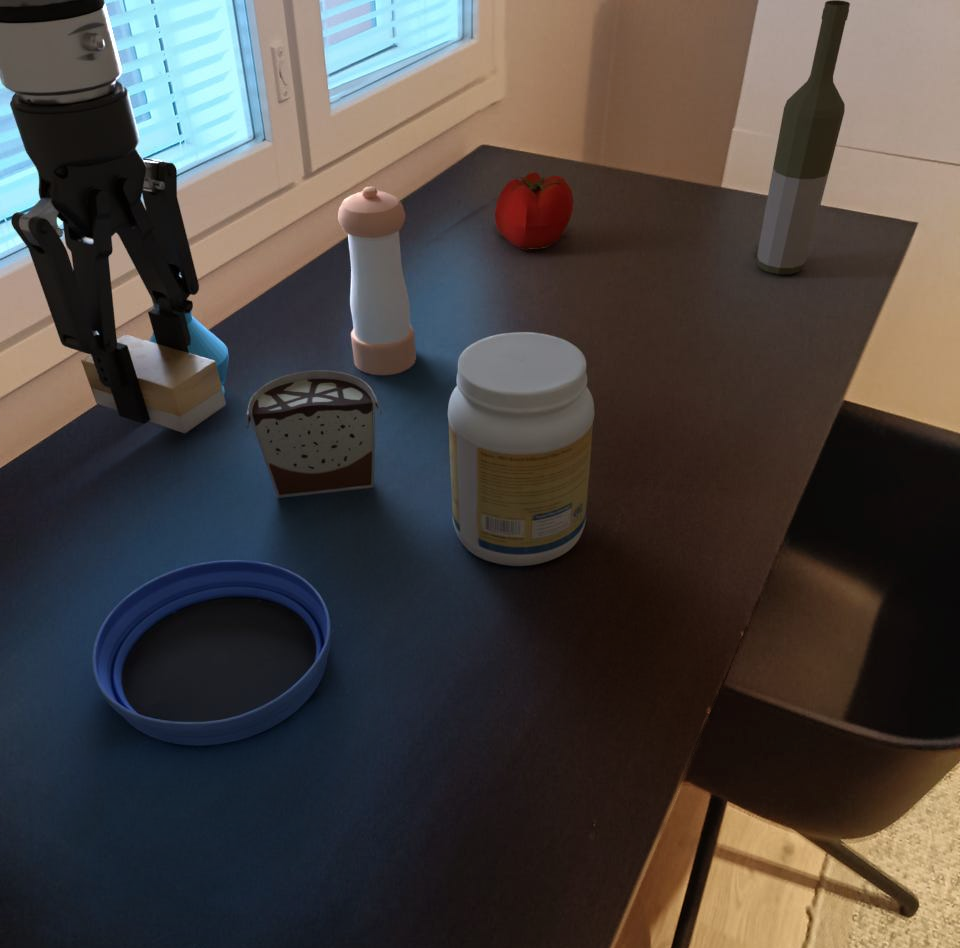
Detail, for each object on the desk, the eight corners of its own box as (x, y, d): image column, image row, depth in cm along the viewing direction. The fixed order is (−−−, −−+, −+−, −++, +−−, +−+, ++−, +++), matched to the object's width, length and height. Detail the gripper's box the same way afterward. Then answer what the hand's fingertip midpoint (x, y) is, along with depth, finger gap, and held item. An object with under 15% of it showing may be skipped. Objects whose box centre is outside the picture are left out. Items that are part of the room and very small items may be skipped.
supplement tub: (611, 528, 86) (631, 360, 74) (521, 591, 79) (526, 419, 68) (515, 475, 92) (518, 311, 80) (425, 530, 86) (414, 362, 74)
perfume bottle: (160, 424, 99) (120, 287, 88) (145, 384, 105) (106, 252, 94) (245, 405, 101) (216, 270, 91) (225, 367, 107) (196, 236, 97)
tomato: (575, 231, 134) (579, 167, 128) (562, 262, 127) (566, 196, 121) (504, 225, 136) (504, 162, 130) (487, 255, 129) (487, 190, 123)
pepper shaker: (347, 350, 110) (327, 180, 96) (407, 340, 111) (394, 171, 98) (361, 380, 105) (341, 205, 91) (423, 369, 107) (412, 195, 93)
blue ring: (95, 774, 66) (80, 743, 64) (113, 607, 79) (100, 575, 76) (346, 732, 69) (341, 701, 66) (325, 576, 81) (319, 545, 79)
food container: (383, 451, 95) (374, 361, 88) (389, 485, 91) (380, 394, 84) (261, 463, 94) (242, 373, 86) (261, 499, 89) (241, 408, 82)
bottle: (766, 281, 122) (824, 11, 101) (743, 260, 127) (794, -2, 105) (815, 275, 123) (882, 7, 102) (791, 254, 128) (850, -6, 107)
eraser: (96, 403, 78) (80, 360, 75) (138, 377, 81) (125, 334, 78) (185, 433, 74) (172, 388, 71) (226, 404, 77) (215, 360, 74)
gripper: (-7, 134, 54) (112, 468, 70) (203, 61, 65) (263, 364, 81) (-90, 117, 57) (43, 442, 73) (125, 49, 68) (199, 345, 84)
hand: (159, 401), depth 77 cm, fingers closed on eraser, 5 cm apart
